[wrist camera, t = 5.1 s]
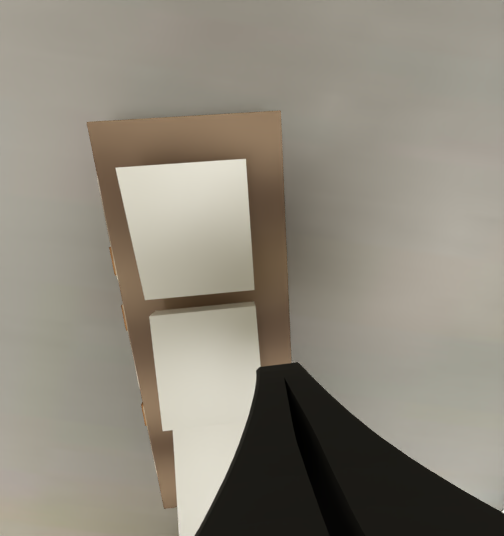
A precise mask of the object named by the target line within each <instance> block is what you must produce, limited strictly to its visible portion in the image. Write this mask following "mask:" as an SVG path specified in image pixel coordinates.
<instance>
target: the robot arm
mask: <svg viewBox="0 0 504 536" xmlns="http://www.w3.org/2000/svg"><path fill="white" fill-rule="evenodd" d="M195 536H504V513H503V512H501V511H499V510H497V509H495V508H493V507H491V506H490V505H488V504H486V503H484V502H482V501H481V500H479V499H477V498H475V497H474V496H472V495H470V494H468V493H467V492H465V491H463V490H461V489H460V488H458V487H456V486H455V485H453V484H451V483H450V482H448V481H447V480H445V479H443V478H442V477H440V476H438V475H437V474H435V473H433V472H432V471H430V470H428V469H427V468H425V467H424V466H422V465H421V464H419V463H418V462H416V461H414V460H413V459H411V458H410V457H408V456H407V455H406V454H404V453H403V452H401V451H400V450H398V449H397V448H396V447H394V446H393V445H391V444H390V443H388V442H387V441H386V440H384V439H383V438H381V437H380V436H379V435H377V434H376V433H375V432H373V431H372V430H371V429H370V428H368V427H367V426H366V425H365V424H363V423H362V422H361V421H360V420H359V419H357V418H356V417H355V416H354V415H352V414H351V413H350V412H349V411H348V410H347V409H346V408H344V407H343V406H342V405H341V404H340V403H339V402H338V401H337V400H336V399H334V398H333V397H332V396H331V395H330V394H329V393H328V392H327V391H326V390H325V389H324V388H323V387H322V386H321V385H320V384H319V383H318V382H317V381H316V380H315V379H314V378H313V377H312V376H311V375H310V374H309V373H308V372H307V371H306V370H305V369H304V368H303V367H302V366H301V365H300V364H299V363H298V362H296V363H288V364H279V365H271V366H263V367H259V368H258V369H257V370H256V385H255V391H254V396H253V400H252V404H251V408H250V412H249V415H248V419H247V422H246V425H245V428H244V431H243V433H242V436H241V439H240V442H239V445H238V447H237V450H236V452H235V455H234V457H233V460H232V462H231V464H230V467H229V469H228V471H227V473H226V476H225V478H224V480H223V482H222V484H221V486H220V488H219V490H218V492H217V494H216V496H215V498H214V500H213V502H212V504H211V506H210V508H209V510H208V512H207V514H206V516H205V518H204V520H203V522H202V523H201V525H200V527H199V529H198V531H197V532H196V534H195Z"/></svg>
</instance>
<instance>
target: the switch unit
mask: <svg viewBox="0 0 504 536" xmlns="http://www.w3.org/2000/svg"><path fill="white" fill-rule="evenodd" d="M87 127H88V132H89V136H90V141H91V146H92V151H93V156H94V161H95V166H96V171H97V176H98V177H97V180H98V185H99V190H100V195H101V200H102V205H103V210H104V215H105V220H106V225H107V230H108V235H109V240H110V245H111V247H109V249H110V253H111V258H112V263H113V268H114V273H115V275H117V280H118V281H119V286H120V291H121V296H122V301H123V304H122V305H121V308H122V313H123V318H124V323H125V328H126V330H128V334H129V339H130V344H131V349H132V354H133V359H134V364H135V369H136V374H137V379H138V384H139V388H140V391H141V396H142V401H143V402H142V404H141V406H142V411H143V416H144V421H145V426H146V425H147V429H148V434H149V439H150V444H151V449H152V454H153V459H154V464H155V469H156V474H157V476H158V481H159V486H160V491H161V496H162V501H163V506H164V509H166V508H174V507H177V495H176V478H175V461H174V444H173V430H169V431H163V430H162V422H161V413H160V405H159V396H158V388H157V379H156V371H155V362H154V353H153V345H152V336H151V328H150V319H149V316H150V315H151V314H153V313H154V312H155V311H159V310H170V309H180V308H190V307H201V306H211V305H222V304H232V303H242V302H253V301H254V303H255V306H256V318H257V329H258V341H259V353H260V365H261V367H263V366H271V365H279V364H288V363H291V343H290V319H289V295H288V272H287V248H286V224H285V201H284V177H283V153H282V130H281V111H266V112H249V113H232V114H215V115H198V116H181V117H164V118H147V119H130V120H113V121H96V122H87ZM235 159H246V169H247V184H248V199H249V214H250V229H251V244H252V259H253V274H254V289H255V290H248V291H238V292H227V293H216V294H206V295H195V296H184V297H174V298H163V299H152V300H145V298H144V294H143V289H142V285H141V280H140V276H139V271H138V267H137V262H136V258H135V253H134V249H133V244H132V240H131V236H130V231H129V227H128V222H127V218H126V213H125V209H124V204H123V200H122V195H121V191H120V186H119V182H118V177H117V173H116V169H115V168H118V167H132V166H147V165H161V164H176V163H191V162H205V161H220V160H235Z"/></svg>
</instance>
